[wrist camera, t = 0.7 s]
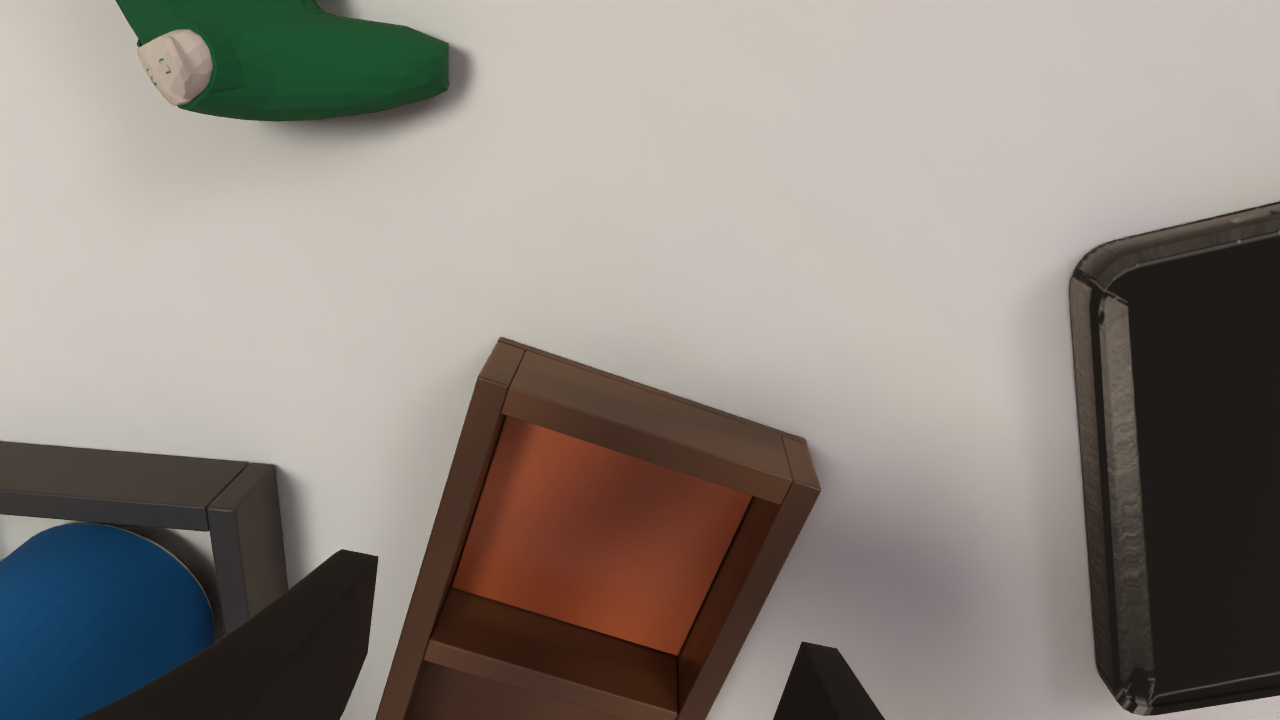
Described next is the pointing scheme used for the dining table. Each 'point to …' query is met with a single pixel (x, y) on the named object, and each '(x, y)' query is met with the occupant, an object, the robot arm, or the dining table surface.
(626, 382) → the brown wooden divided tray
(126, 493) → the holder
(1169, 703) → the phone
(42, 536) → the beverage can
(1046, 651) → the dining table surface
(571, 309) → the dining table surface
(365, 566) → the robot arm
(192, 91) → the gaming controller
